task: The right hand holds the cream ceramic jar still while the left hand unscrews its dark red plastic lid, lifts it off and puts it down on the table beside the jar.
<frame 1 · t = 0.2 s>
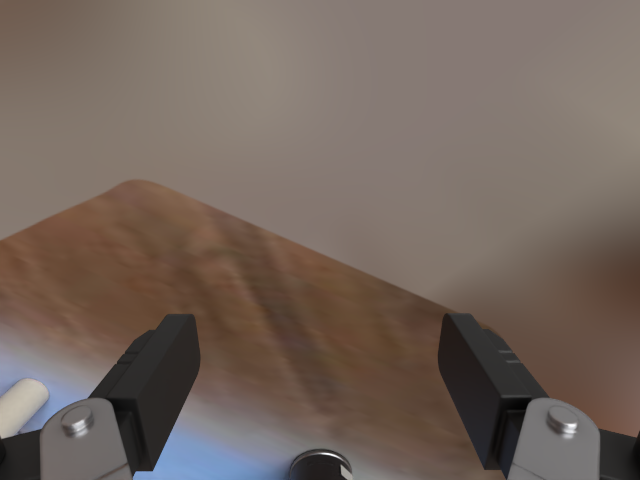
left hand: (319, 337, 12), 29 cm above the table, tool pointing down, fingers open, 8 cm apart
jar: (32, 391, 49), on the table
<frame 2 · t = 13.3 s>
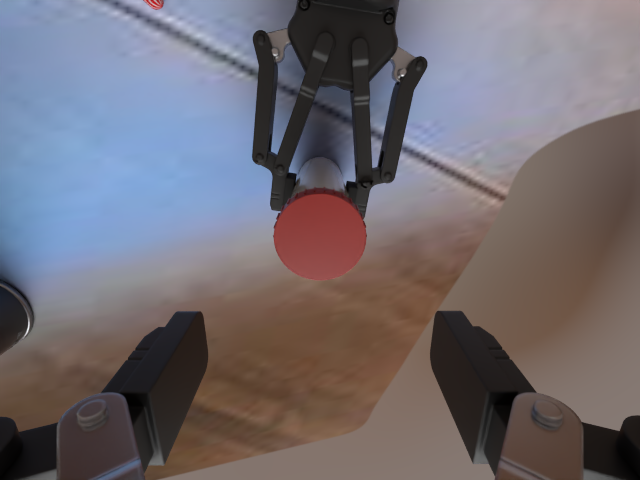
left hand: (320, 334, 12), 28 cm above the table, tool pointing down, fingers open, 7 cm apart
right hand: (312, 247, 33), fingers closed on jar, 5 cm apart
lid: (320, 236, 21), point 18 cm above the table, screwed on, not yet turned
jar: (320, 179, 38), on the table, touching right hand
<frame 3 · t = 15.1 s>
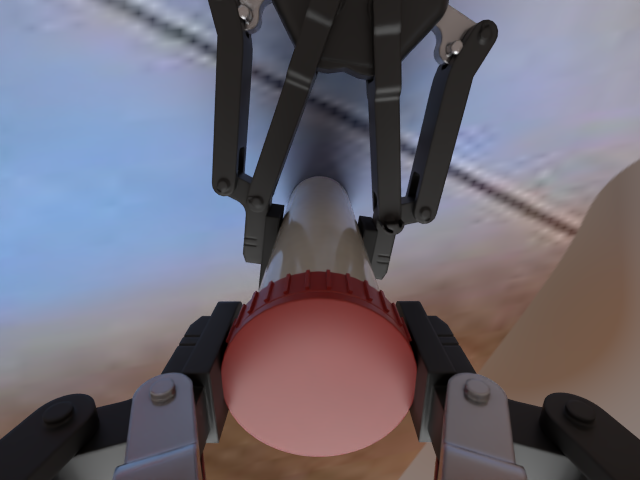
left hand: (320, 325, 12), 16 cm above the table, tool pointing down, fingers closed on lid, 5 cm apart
right hand: (307, 313, 23), fingers closed on jar, 5 cm apart
lid: (319, 375, 10), point 18 cm above the table, screwed on, not yet turned, touching left hand
jar: (319, 206, 27), on the table, touching right hand
when the left hand's fingers open (16 cm above the table, at t = 16.7 s): lid stays where it is, point 19 cm above the table.
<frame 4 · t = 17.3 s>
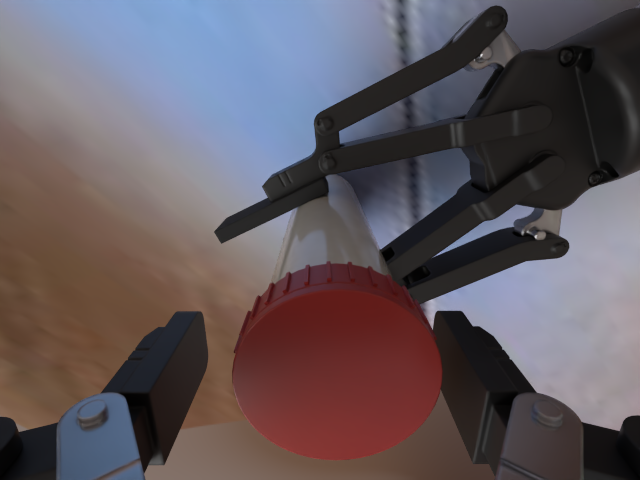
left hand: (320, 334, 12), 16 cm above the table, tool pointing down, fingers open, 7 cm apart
right hand: (248, 268, 21), fingers closed on jar, 5 cm apart
lid: (336, 374, 9), point 19 cm above the table, turned 77° so far, risen 0.2 cm, still on its thread
jar: (326, 203, 27), on the table, touching right hand
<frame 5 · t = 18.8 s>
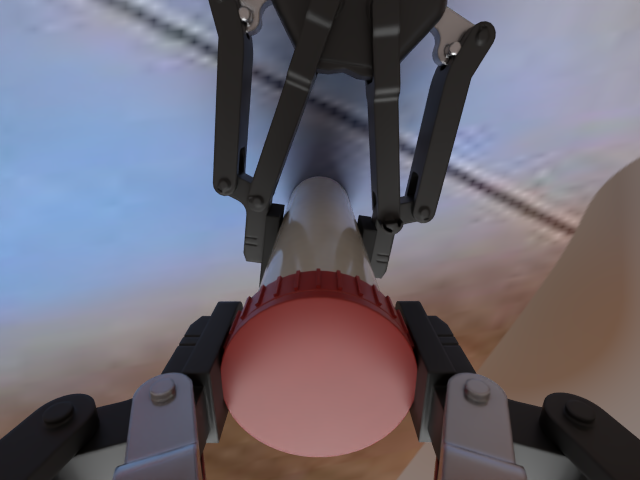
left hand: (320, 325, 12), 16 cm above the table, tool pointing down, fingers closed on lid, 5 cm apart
right hand: (307, 312, 23), fingers closed on jar, 5 cm apart
lid: (318, 375, 10), point 19 cm above the table, turned 77° so far, risen 0.2 cm, still on its thread, touching left hand
jar: (319, 206, 27), on the table, touching right hand
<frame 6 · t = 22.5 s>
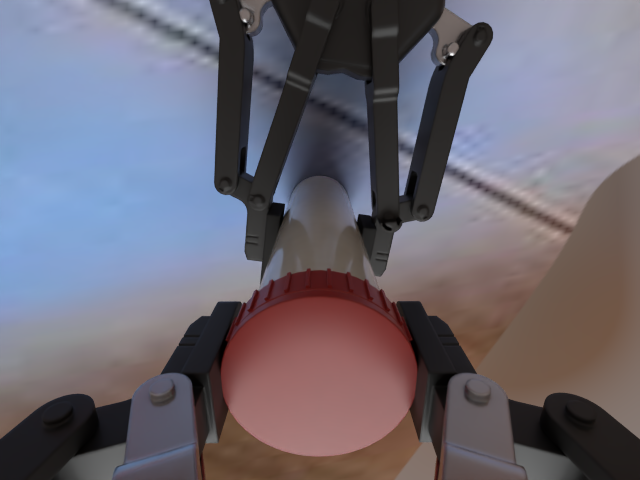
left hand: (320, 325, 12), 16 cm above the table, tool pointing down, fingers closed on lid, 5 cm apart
right hand: (307, 310, 23), fingers closed on jar, 5 cm apart
lid: (319, 375, 10), point 19 cm above the table, turned 155° so far, risen 0.4 cm, still on its thread, touching left hand
jar: (319, 205, 28), on the table, touching right hand
when the left hand's fingers open (0 cm above the table, at t = 30.8 s): lid drops 2 cm, point 1 cm above the table.
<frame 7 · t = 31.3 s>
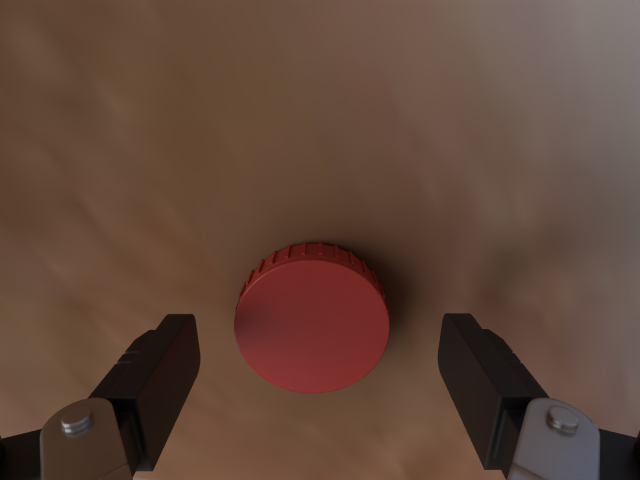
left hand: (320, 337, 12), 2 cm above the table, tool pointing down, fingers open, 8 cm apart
lid: (312, 326, 12), point 1 cm above the table, off its thread
when the right hand's fingers open (7 cm above the table, at t = 31.6 s): jar stays where it is, on the table.
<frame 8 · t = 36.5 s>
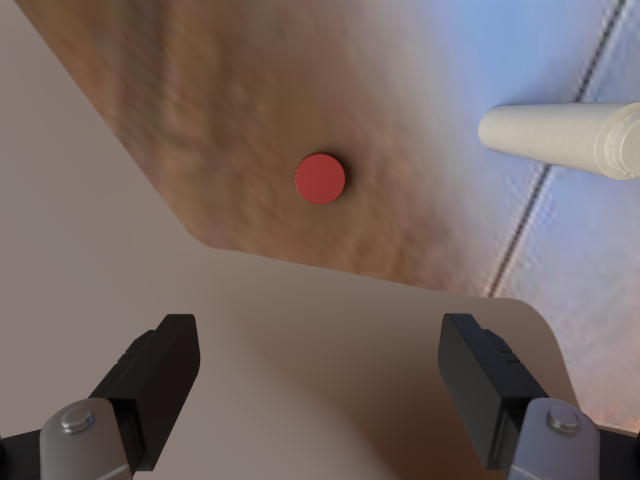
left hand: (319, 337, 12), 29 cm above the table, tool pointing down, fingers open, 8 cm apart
lid: (320, 179, 38), point 1 cm above the table, off its thread
jar: (500, 128, 37), on the table
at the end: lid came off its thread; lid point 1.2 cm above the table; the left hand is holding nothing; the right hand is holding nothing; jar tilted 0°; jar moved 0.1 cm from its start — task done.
